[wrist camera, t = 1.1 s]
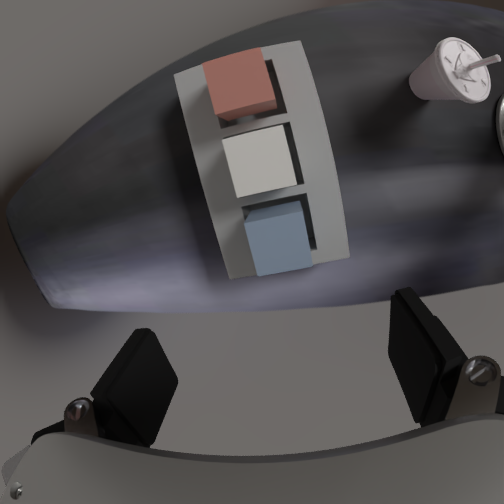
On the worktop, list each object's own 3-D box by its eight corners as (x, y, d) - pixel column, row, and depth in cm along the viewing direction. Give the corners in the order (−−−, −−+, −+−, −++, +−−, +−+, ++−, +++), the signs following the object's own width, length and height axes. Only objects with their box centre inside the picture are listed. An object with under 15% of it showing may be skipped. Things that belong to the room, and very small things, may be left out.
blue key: (299, 200, 24) (302, 211, 20) (308, 247, 25) (313, 266, 21) (251, 210, 25) (243, 223, 21) (262, 256, 26) (257, 276, 22)
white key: (283, 129, 22) (282, 124, 18) (294, 178, 23) (297, 184, 19) (233, 141, 23) (221, 139, 19) (245, 189, 24) (237, 198, 20)
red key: (264, 64, 20) (260, 47, 16) (277, 108, 21) (275, 99, 17) (216, 77, 21) (201, 63, 17) (227, 121, 22) (215, 114, 18)
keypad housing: (298, 58, 23) (300, 40, 18) (340, 240, 30) (349, 257, 25) (191, 85, 26) (173, 74, 21) (238, 259, 32) (229, 279, 27)
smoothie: (451, 98, 22) (528, 86, 9) (419, 119, 24) (498, 110, 11) (422, 54, 20) (488, 17, 7) (388, 72, 22) (451, 31, 9)
